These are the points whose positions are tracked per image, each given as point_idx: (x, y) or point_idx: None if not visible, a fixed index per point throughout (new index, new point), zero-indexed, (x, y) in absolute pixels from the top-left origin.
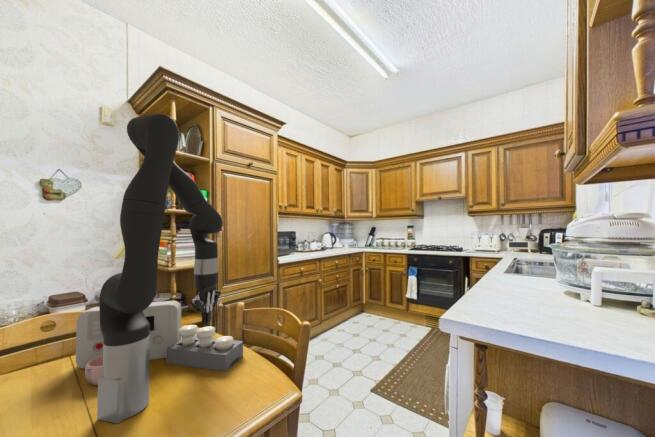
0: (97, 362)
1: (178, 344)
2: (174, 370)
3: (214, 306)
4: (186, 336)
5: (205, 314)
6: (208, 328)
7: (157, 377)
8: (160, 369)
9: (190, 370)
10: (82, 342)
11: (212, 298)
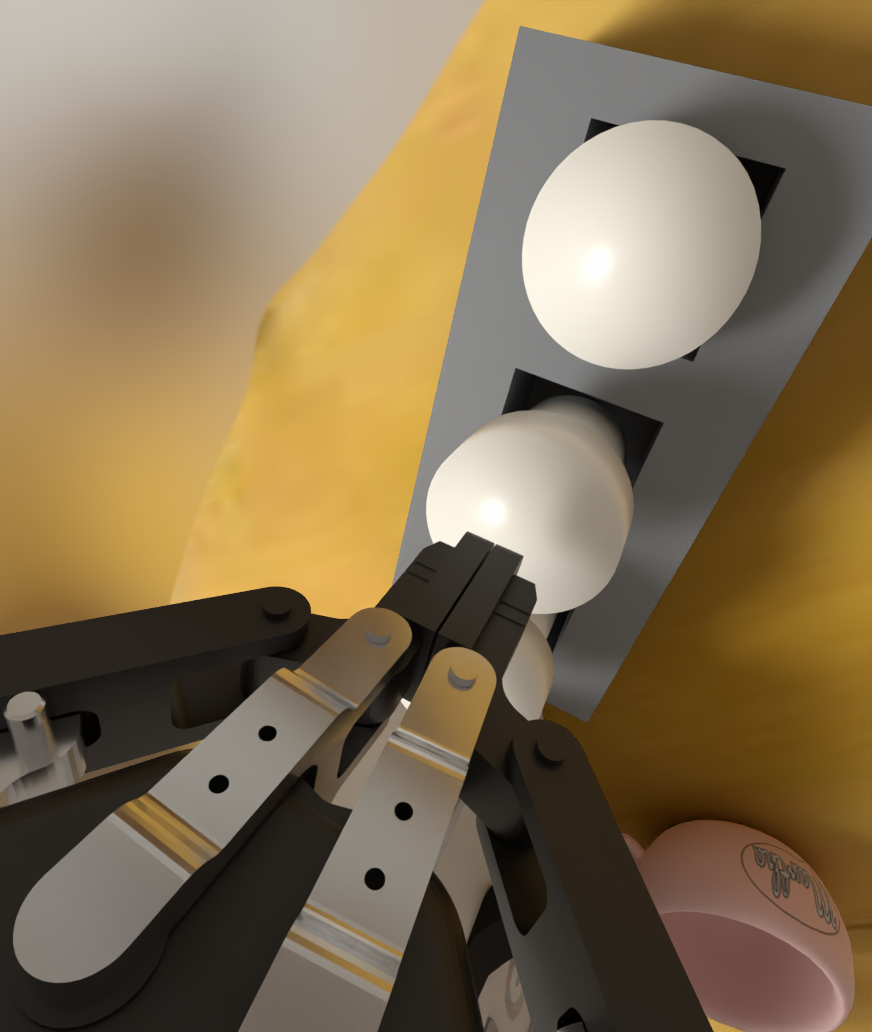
0: (691, 969)
1: None
2: (726, 585)
3: (287, 601)
4: (553, 660)
5: (504, 664)
6: (487, 510)
7: (804, 661)
8: (687, 664)
9: (760, 480)
10: None
11: (249, 777)
